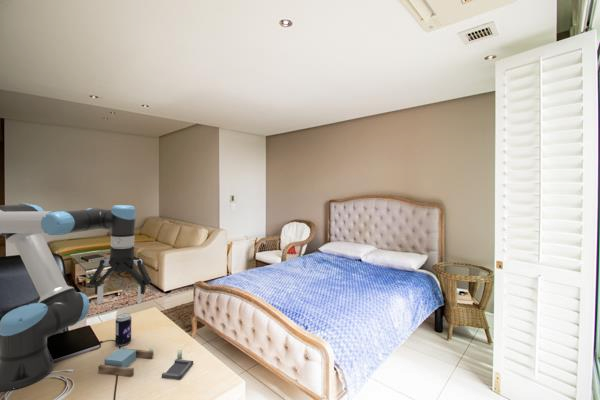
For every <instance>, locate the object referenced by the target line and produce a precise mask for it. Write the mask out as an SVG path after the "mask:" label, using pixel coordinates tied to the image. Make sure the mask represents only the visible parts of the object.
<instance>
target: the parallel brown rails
mask: <svg viewBox="0 0 600 400" xmlns="http://www.w3.org/2000/svg"><path fill="white" fill-rule="evenodd" d="M121 349H126V348H124V347H122V348H121ZM127 349H128V350H136V359H146V360H152V359H153V357H154V355H153V351H149V350H143V349H133V348H127ZM97 367H98V370H97V373H98V374H104V375H111V376H121V377H129V378H132V377H133V376H135V375H134V374H135V368H134V367H118V366H109V365H105V364H99V365H98V366H97Z"/></svg>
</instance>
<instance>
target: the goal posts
mask: <svg viewBox="0 0 600 400" xmlns="http://www.w3.org/2000/svg"><path fill="white" fill-rule="evenodd" d="M154 347H155V346H150V347H148V351H153V356H155V355H154V353H155V352H154V351H155V350H154ZM176 352H177V355H176V357H177V358H176V359H179V360H182V355H183V349H178V350H177V351H176Z"/></svg>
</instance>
